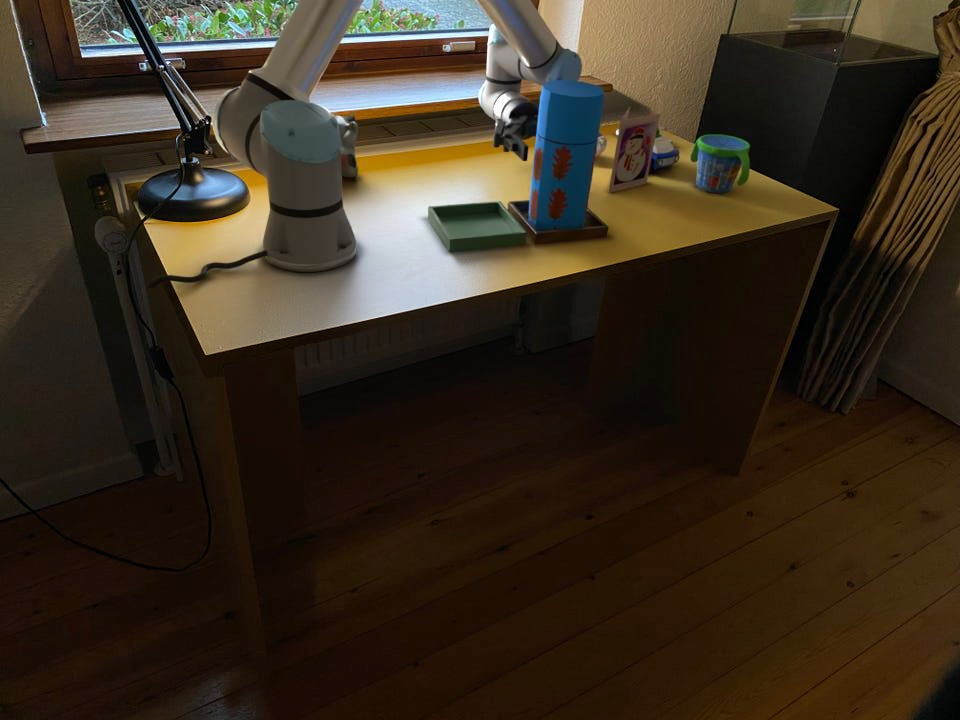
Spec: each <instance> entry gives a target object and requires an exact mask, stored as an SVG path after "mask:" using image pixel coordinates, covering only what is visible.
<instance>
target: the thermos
mask: <svg viewBox="0 0 960 720" xmlns="http://www.w3.org/2000/svg"><path fill="white" fill-rule="evenodd" d="M604 100H605V90H604V89H603V87H601V86H599V85H597V84H594V83H590V82H586V81H580V80H578V81H570V80H556V81H550V82H547V83H544V85H543V86H542V87H541V92H540V97H539V104H538V105H539V106H538V108H539V114H538V124H537V134H536V137H535V145H534V155H533V163H532V172H531V173H532V174H531V182H530V193H529V200H530V201H529V212H528V221H529V222H530V223H531V224H532V225H533V226H534V227H535V228H536V230H537V231H538V232H540V231H551V230H562V229H573V228H584V226H585V222H586V220H585V217H586V212H587V208H589V201H590V194H591V189H592V188H591V187H592V180H593V174H594V168H595V160H596V157H595V155H596V148H597V142H598V135H599V132H600V128H601V123H602V114H603V109H604V103H605V101H604Z"/></svg>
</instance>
